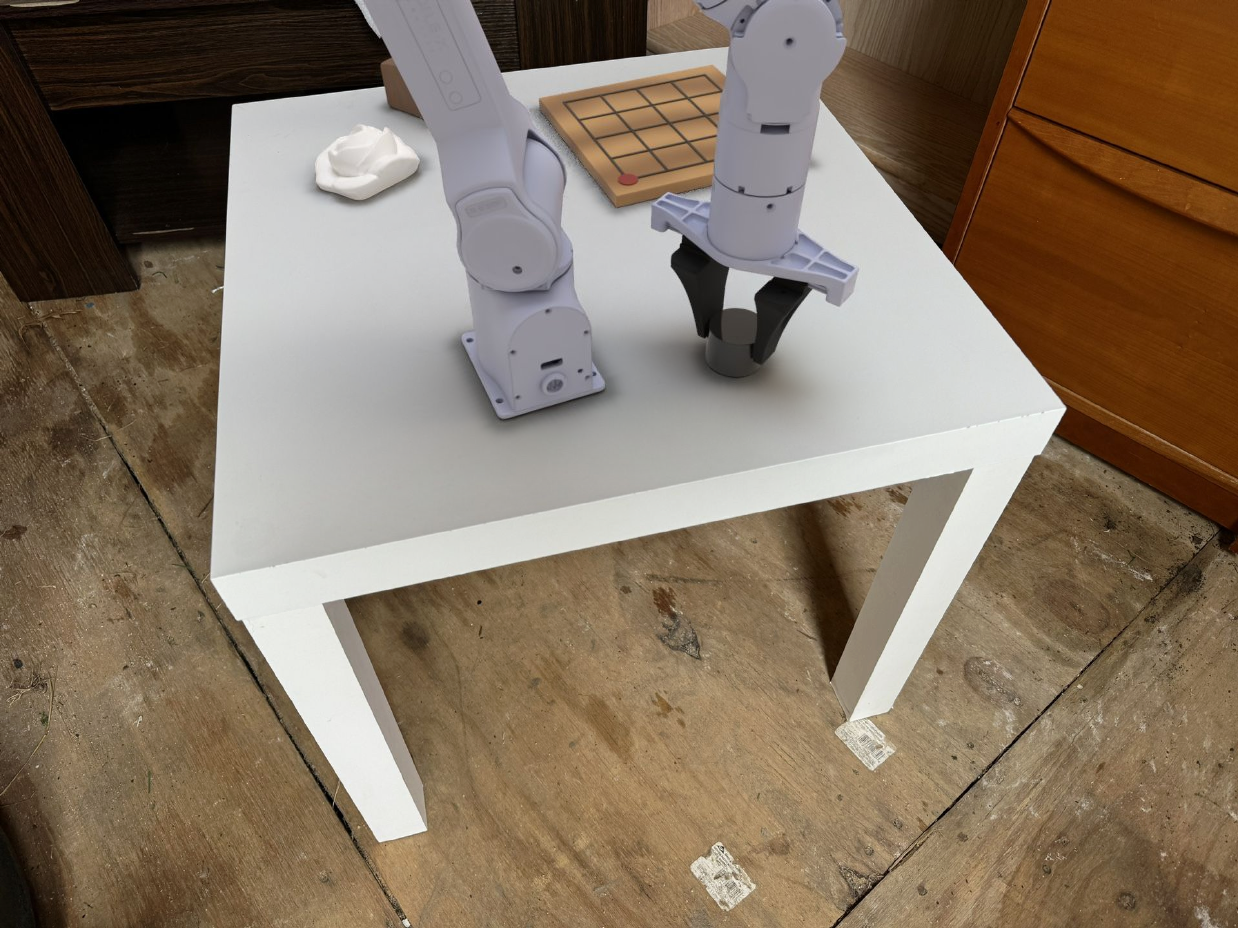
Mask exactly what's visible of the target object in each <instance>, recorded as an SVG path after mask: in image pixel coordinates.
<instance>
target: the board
mask: <svg viewBox="0 0 1238 928" xmlns="http://www.w3.org/2000/svg"><path fill="white" fill-rule="evenodd" d="M725 79H726V74H724V73H723V72H722V71H720V69H718V68H717V66H715V65H714V64H709V65H703V66H699V67H693V68H688V69H684V70H678V71H673V72H668V73H663V74H657V75H652V76H647V77H641V78H636V79H631V80H626V81H621V82H620V81H619V82H616V83H615V82H614V83H611V84H606V85H605V84H604V85H599V86H595V87H590V88H584V89H579V90H575V91H574V90H573V91H569V92H563V93H559V94H554V95H549V96H543V97H539V98H538V104H539V105H538V107H539V108H538V109H539V110H540V111H541V113H542V115H544V117H545V118H546V119H547V121H548V122H549V123H550V124H551V126H552V127H553V128H554V130H555V131H556V133H558V135H559V136H560V137H561V139H562V140H563V141H564V143H565V144H566V145H567V146H568V148H569V149H570V150H571V151H572V153H573V154H574V155H575V157H576V158H577V159H578V160H579V161H580V163H581V164H582V165H583V167H584V168H585V169H586V171H587V172H588V173H589V174H590V176H591V177H592V178H593V179H594V181H595V182H596V183H597V185H598V186H599V187H600V189H601V190H602V191H603V192H604V193H605V195H606V196H607V197H608V199H609V200H610V201H611V202H612V204H613V205H614V206H615V208H621V207H626V206H629V205H633V204H634V205H635V204H638V203H642V202H647V201H650V200H655V199H659V198H661V197H662V196H663V195H665V194H666V193H667V192H670V193H672V194H675V195H677V194H681V193H684V192H689V191H693V190H698V189H702V188H706V187H710V186H711V187H712V180H713V170H714V159H715V149H716V138H717V128H718V117H719V107H720V98H721V95H722V92H723V89H724V87H725Z"/></svg>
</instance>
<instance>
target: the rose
mask: <svg viewBox="0 0 1238 928" xmlns="http://www.w3.org/2000/svg"><path fill="white" fill-rule="evenodd" d="M420 162H421V159H420V158H419V157H418V155H417V153H416V152H415V151H414V150H413V148H412V147H410V146H408V145H407V144H405V143H404V141H403V140H402V139H401V138H400V137H399V136H398V135H396V134H394V133H393V132H392V130H391V129H390V128H389V127H385V126H384V128H383V130H380V128H376V127H374V126H371V125H368V126H367V125H365V124H362V123H358V124H356V125H354V127H353V128H352V130H351V132H350V133H349V135H343V136H340V137H337V138H336V139H335V140H334V141H333V142H332V143H331V144H330V145H329V146H328V147H326V148H325V149H324V150H323V151H322V152H321V153H320V154H319V155H318V156H317V157H316V160H315V162H314V172H315V175H316V176H315V183H316V185H317V186H318V187H319V188H320V189H321V190H322V191H326V192H330V193H335V194H338V195H340V196H344V197H346V198H348V199H351V200H355V201H364V200H366V199H369V198H371V197H373V196H375V195H377V194H379V193H381V192H382V191H384V190H387V189H388V188H390V187H392V186H394V185H396V184H399V183H400V182H403V181H404V180H406V179H408V178H409V177H410V176H412V175H413V174H414V173H415V172H416V171H417V170H418V169H419V168H418V166H419V164H420Z"/></svg>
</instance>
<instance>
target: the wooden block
mask: <svg viewBox="0 0 1238 928" xmlns="http://www.w3.org/2000/svg"><path fill="white" fill-rule="evenodd" d="M380 72H381V75H382V80H383V87H384V92H385V96H386V102H387V105H388V106H389V107H391V108H393V109H396V110H399V111H402V112H405V113H407V114H410V115H413V116H415V117H418V118H420V119H423V117H422V115H421V113H420V111H419V109H418V107H417V105H416V103H415V101H414V99H413V97H412V95H411V93H410V91H409V89H408V88H407V86H406V84H405V82H404V80H403V78H402V76H401V74H400V72H399V70H398V68H397V66H396V64H395V62H394V60H393V58H392V57H390V58H388V59H386V60H384V61H382V62H381V63H380Z"/></svg>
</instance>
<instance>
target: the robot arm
mask: <svg viewBox="0 0 1238 928" xmlns="http://www.w3.org/2000/svg"><path fill="white" fill-rule="evenodd" d="M362 1H363V3H364V6H365V7H366V9H367V11H368V14H369V15H370V17H371V20H372V21H373V24H374V25H375V27H376V29H377V31H378V33H379V35H380V36H381V39H382V40H383V42H384V44H385V46H386V48H387V51H388V53H389V54H390V56H391V58H393V60H394V62H395V64H396V66H397V68H398V70H399V72H400V74H401V76H402V78H403V80H404V82H405V84H406V86H407V88H408V89H409V91H410V93H411V95H412V97H413V99H414V101H415V103H416V105H417V107H418V109H419V111H420V113H421V115H422V117H423V118H422V119H423V121H424V123H425V125H426V126H427V129H428V130H429V132H430V134H431V137H432V139H433V140H434V142H435V144H436V145H435V146H436V149H437V154H438V161H439V166H440V167H439V169H440V174H441V181H442V187H443V193H444V198H445V202H446V204H447V206H448V208H449V209H450V212H451V214H452V217H453V218H454V221H455V224H456V251H457V255H458V258H459V261H460V262H461V264H462V266H463V268H464V270H465V277H466V283H467V290H468V295H469V296H468V297H469V303H470V310H471V318H472V324H473V330H471V331H468V332H464V333H463V334H461V343H462V345H463V347H464V349H465V351H466V353H467V355H468V357H469V360H470V361H471V364H472V366H473V368H474V370H475V372H476V374H477V376H478V378H479V380H480V382H481V384H482V386H483V388H484V390H485V392H486V394H487V397H488V399H489V401H490V403H491V405H492V407H493V409H494V411H495V413H496V415H497V417H498V418H499V419H502V420H507V419H510V418H514V417H517V416H520V415H524V414H527V413H530V412H534V411H537V410H540V409H544V408H548V407H550V406H551V407H552V406H554V405H558V404H561V403H565V402H567V401H570V400H574V399H578V398H581V397H585V396H588V395H591V394H595V393H598V392H601V391H603V390H605V388H606V381H605V379H604V378H603V376H602V375H601V373H600V372H599V370H598V368H597V367H596V365H595V363H594V362H593V336H592V335H593V331H592V323H591V321H590V318H589V316H588V315H587V313H586V311H585V310H584V308H583V306H582V304H581V302H580V300H579V297H578V295H577V291H576V287H575V265H574V262H575V261H574V247H573V243H572V241H571V239H570V237H569V236H568V235H567V233H566V231H565V230H564V228H563V227H562V218H563V205H564V204H563V201H564V194H565V190H566V185H567V181H568V177H567V175H568V173H567V172H568V171H567V167H566V162H565V160H564V158H563V156H562V153H560V151H559V149H558V148H557V147H556V146H555V144H554V143H552V142H551V141H550V140H549V139H548V138H547V137H545V136H544V135H543V134H542V133H541V132H540V131H539V129H537V127H536V125H535V124H534V122H533V120H532V118H531V116H530V113H529V111H528V109H527V107H526V105H524V104H523V103H522V102H521V101H519V100H518V99H516V98H515V97H514V96H512V95H511V93H510V90H509V89H508V86H507V84H506V81H505V79H504V76H503V74H502V72H501V69H500V67H499V65H498V63H497V60H496V58H495V55H494V53H493V51H492V49H491V46H490V43H489V41H488V39H487V37H486V34H485V32H484V30H483V28H482V25H481V23H480V20H479V18H478V15H477V14H476V11H475V8H474V6H473V4H472V1H471V0H362ZM692 1H693V3H694V4H695V5H696V6H697V8H698V9H699V10H700V11H701V12H702V14H703V15H704V16H705V17H707V18H709V19H711V20H713V21H715V22H717V23H719V24H721V25H722V26H723V27H724V28H726V29H727V30H728V33H729V38H730V41H729V47H728V48H727V49H728V51H727V61H726V70H725V76H726V79H725V87H724V89H723V92H722V95H721V98H720V107H719V117H718V128H717V138H716V149H715V159H714V170H713V180H712V185H711V190H710V191H711V192H710V201H709V200H708V201H707V200H702V199H696V198H691V197H685V196H682V195H678V194H672V193H670V192H667V193H666V194H665V195H663V196H662V197H659V198H657V199H656V200H655V201H654V202H652V204H651V210H650V211H651V214H650V229H652V230H654V231H657V232H659V233H665V232H667V231H668V230H670V231H672V232H674V233H677V234H679V235H681V242H680V244H679V247H678V248H676V250H675V251H673V252H672V253H671V255H670V268H671V269H672V270H673V272H674V273H675V275H676V276H677V278H678V279H679V281H680V283H681V285H682V287H683V289H684V291H685V293H686V296H687V299H688V302H689V305H690V308H691V311H692V315H693V319H694V324H695V329H696V334H697V336H698V337H699V338H701V339H704V340H705V339H707V335H708V326H709V321H710V319H711V317H712V316H713V315H714V314H715V313H717V312H719V311H721V310H724V303H725V295H726V294H725V293H726V286H727V281H728V277H729V270H730V269H733V270H736V271H741V272H747V273H751V274H758V275H764V276H769V277H772V278H771V279H769V280H768V281H766V283H765V284H763V286H762V287H760V288H759V290H757V291H756V292H755V293H754V297H753V301H754V304H755V305H754V306H755V311H756V312H755V313H757V332H756V338H755V343H754V349H753V362H755V363H757V364H759V365H761V366H763V365H764V364H765V362H767V361H768V359H770V357H771V356H772V355H773V354H774V353H775V352H776V349H777V347H778V344H779V342H780V339H781V337H782V335H783V333H784V331H785V330H786V327H787V326H788V324H789V322H790V321H791V319H792V317H793V316H794V314H795V313H796V311H797V310H798V309H799V307H800V306H801V304H802V303H803V302H804V300H805V299H806V298H807V297H808V295H809V294H810V293H811V292H812V291H816V292H819V293H821V294H824V295H825V299H824V300H825V302H826V303H828V304H830V305H833V306H835V307H837V308H838V307H842V305H843V304H845V302H846V301H847V300H848V299H849V298H850V296H851V295H852V294H853V293H854V291H855V287H856V283H857V278H858V274H859V271H860V267H859V266H856V265H854V264H852V263H850V262H848V261H846V260H844V259H842V258H841V257H839V256H838V255H836V254H834V253H833V252H831V251H830V250H828V248H826V247H824V246H823V245H821V244H820V243H819V242H818V241H816V240H815V239H813V238H812V237H810V236H809V235H808V234H807V233H805V232H804V231H802V230H801V229H799V224H800V218H801V212H802V208H803V207H802V206H803V201H804V195H805V190H806V185H807V179H808V174H809V170H810V169H809V168H810V164H811V158H812V154H813V148H814V141H815V136H816V131H817V126H818V120H819V115H820V110H821V103H820V99H821V98H820V97H821V94H822V88H823V83H824V81H825V80H826V79H827V78H828V77H829V76H831V74H832V73H833V72H834V70H835V69H836V68H837V66H838V65H839V63H840V61H841V59H842V58H843V56H844V53H845V50H846V46H847V43H848V40H847V38H845V37H844V35H843V33H844V24H843V18H844V15H843V12H842V11H843V10H842V8H841V5H840V3H839V0H692Z"/></svg>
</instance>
